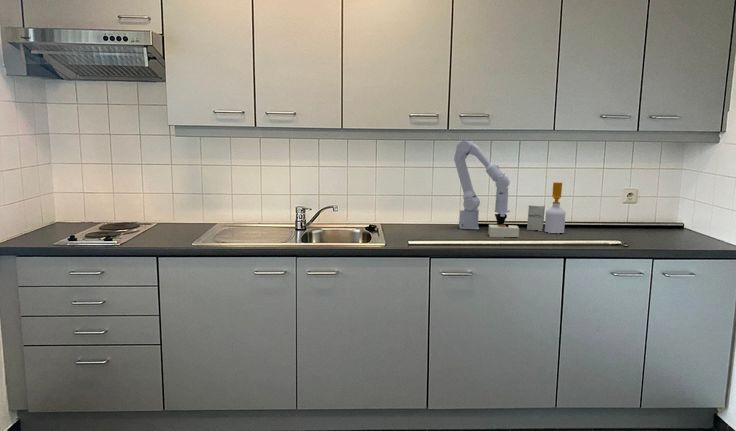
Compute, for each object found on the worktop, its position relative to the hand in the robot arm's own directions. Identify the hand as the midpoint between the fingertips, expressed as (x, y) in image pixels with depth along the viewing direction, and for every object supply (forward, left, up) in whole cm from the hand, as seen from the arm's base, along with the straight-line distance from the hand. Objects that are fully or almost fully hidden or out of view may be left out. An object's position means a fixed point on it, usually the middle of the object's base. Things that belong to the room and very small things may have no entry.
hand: (500, 228), depth 269 cm
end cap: (0, -12, -1) cm, 12 cm away
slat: (0, -9, -1) cm, 9 cm away
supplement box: (+18, +7, -1) cm, 20 cm away
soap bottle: (+26, +1, -1) cm, 26 cm away
